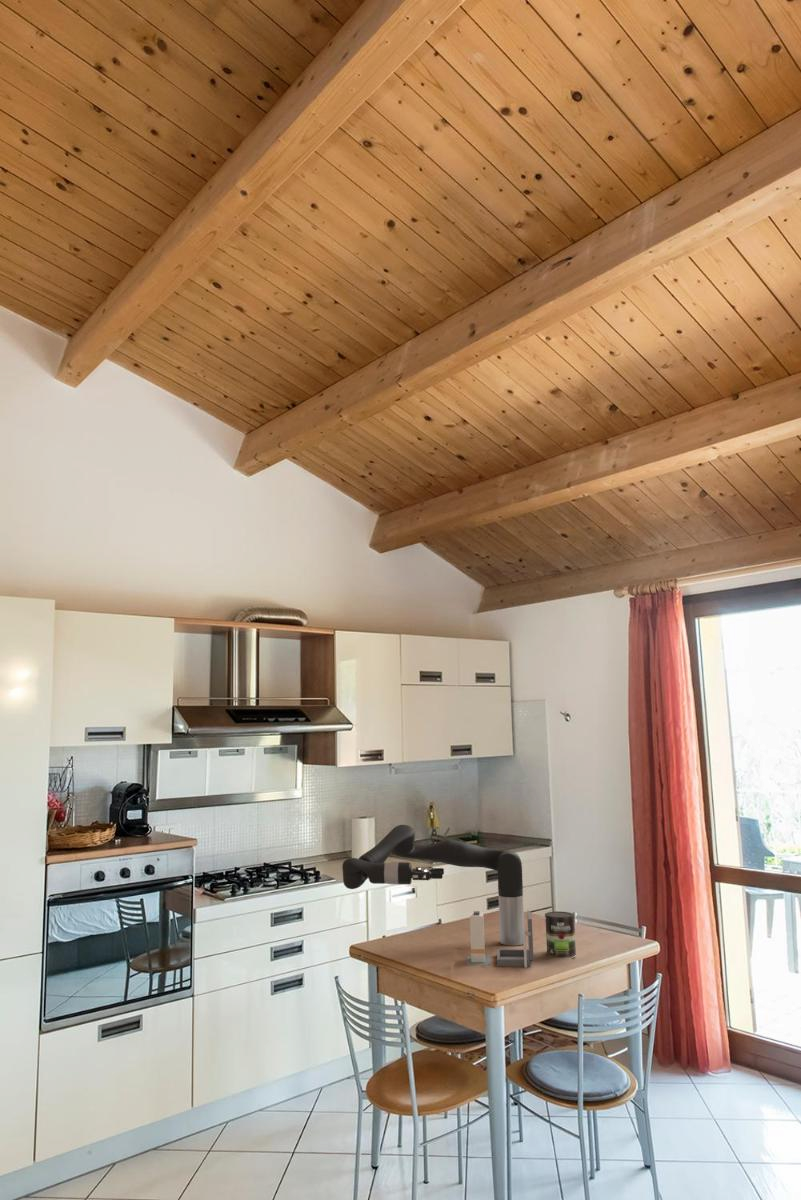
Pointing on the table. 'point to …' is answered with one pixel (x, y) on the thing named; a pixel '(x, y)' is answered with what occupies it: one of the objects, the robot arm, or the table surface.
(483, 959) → the white bottle
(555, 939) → the coffee can
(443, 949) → the table surface
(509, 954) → the grey dispenser stand
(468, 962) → the mat
